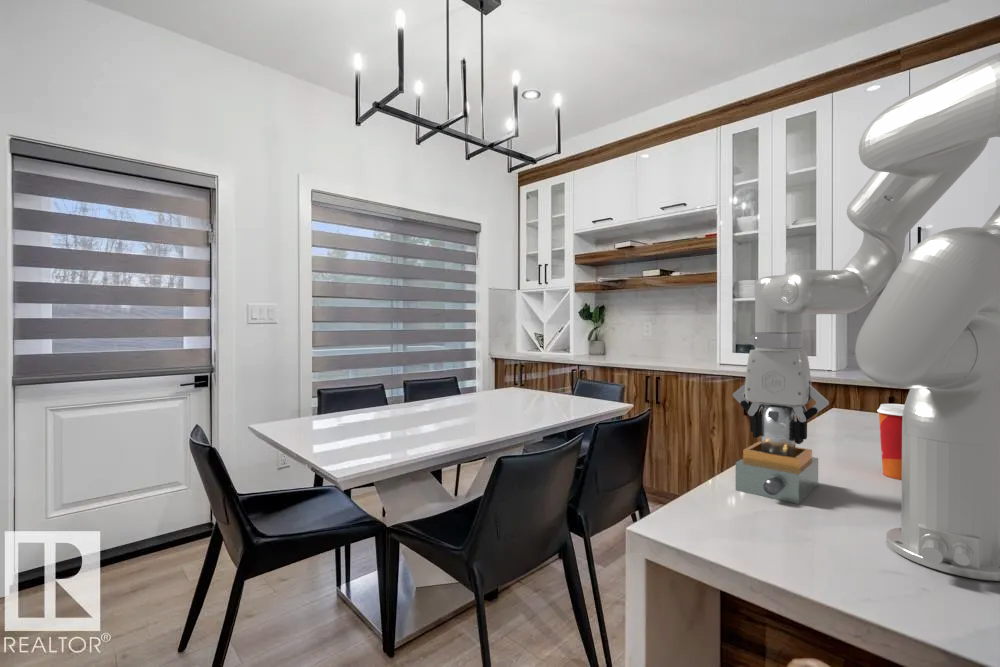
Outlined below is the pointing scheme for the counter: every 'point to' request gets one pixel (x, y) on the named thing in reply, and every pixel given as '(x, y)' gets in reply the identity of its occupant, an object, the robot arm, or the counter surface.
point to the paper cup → (891, 439)
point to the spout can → (778, 430)
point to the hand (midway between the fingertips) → (777, 438)
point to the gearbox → (777, 474)
